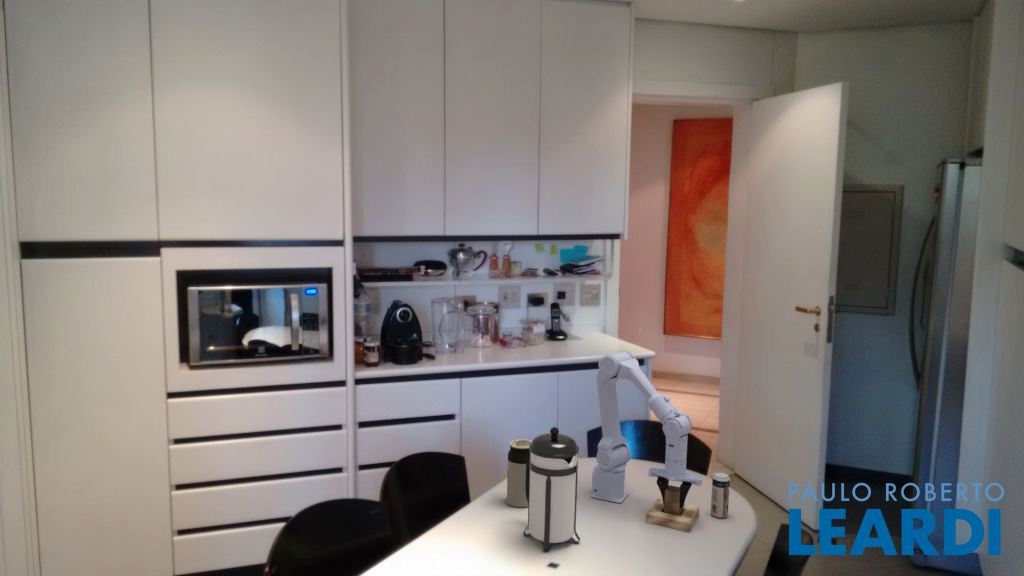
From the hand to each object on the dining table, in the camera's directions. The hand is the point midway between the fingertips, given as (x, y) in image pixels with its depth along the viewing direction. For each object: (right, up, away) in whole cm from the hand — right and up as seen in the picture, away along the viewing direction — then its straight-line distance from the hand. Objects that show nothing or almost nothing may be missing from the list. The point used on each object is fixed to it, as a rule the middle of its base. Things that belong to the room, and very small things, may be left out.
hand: (673, 505), depth 190 cm
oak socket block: (0, -4, 0) cm, 4 cm away
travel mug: (-43, -2, +9) cm, 44 cm away
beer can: (+14, -4, +3) cm, 15 cm away
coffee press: (-36, -5, -12) cm, 38 cm away
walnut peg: (0, -2, 0) cm, 2 cm away
